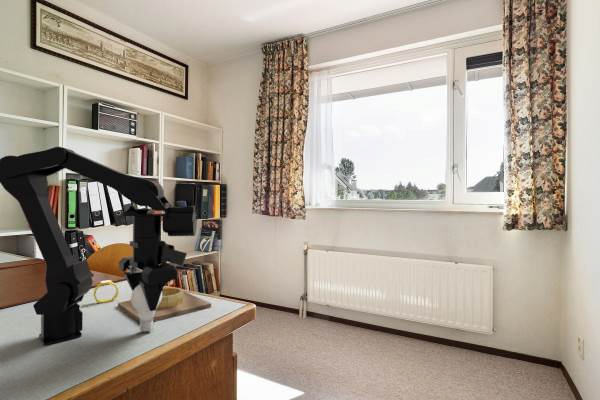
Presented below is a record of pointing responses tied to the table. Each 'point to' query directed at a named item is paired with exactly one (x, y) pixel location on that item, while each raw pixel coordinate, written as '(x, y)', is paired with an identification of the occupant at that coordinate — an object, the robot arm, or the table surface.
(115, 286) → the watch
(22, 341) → the table surface
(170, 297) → the socket collar
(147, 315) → the lightbulb
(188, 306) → the socket base
